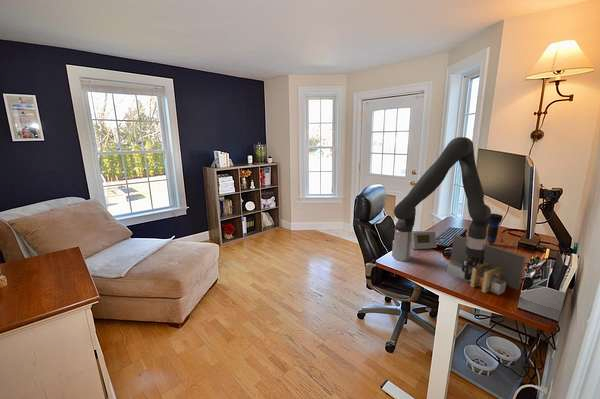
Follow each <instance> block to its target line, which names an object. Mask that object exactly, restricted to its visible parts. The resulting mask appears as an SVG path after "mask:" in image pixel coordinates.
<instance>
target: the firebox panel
mask: <svg viewBox="0 0 600 399" xmlns="http://www.w3.org/2000/svg"><path fill="white" fill-rule="evenodd" d="M467 238H468V237H463V236H461V235H457V234H453V238H452V245H451V247H452V248H451V252H450V253H451V254H450V261H449V262H452V261H456V262H458V263H461V264H462V261H463V260H464V261H466V260H467V257H468V256H467V255H466V254H465V249H466V242H467ZM485 262H490V263H491V266H490V270H491V269H493V268H495V267H498V266H501V267H503V269H502V275H501V280H503V281H505V282H506V287H507V286H508V287H509V288H512V289H515V290H517V291H518V290H520V288H521V283H522V278H523V271H524V268H525V267H524V266H525V263H526V256H525V255H522V254H518V253H515V252H512V251H508V250H505V249H501V248H499V247H496V246H493V245H490V244H486V245H485V251H484V261H483V263H485ZM480 264H481V263H480ZM469 267H471V266H469ZM481 272H483V270H481ZM492 276H493V277H495V275H492Z"/></svg>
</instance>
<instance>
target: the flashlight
mask: <svg viewBox="0 0 600 399" xmlns="http://www.w3.org/2000/svg"><path fill="white" fill-rule="evenodd" d="M502 220H503V214H498V213H492V212H491V216H490V220H489V223H488V226H487V234H486V236H487V237H486V238H487V239H486V241H487V242H488V245H490V246H493V244H494V243H496V241H497V237H498V232H499V226H500V225H501V222H502Z"/></svg>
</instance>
